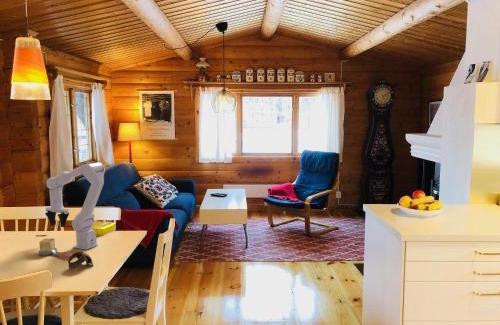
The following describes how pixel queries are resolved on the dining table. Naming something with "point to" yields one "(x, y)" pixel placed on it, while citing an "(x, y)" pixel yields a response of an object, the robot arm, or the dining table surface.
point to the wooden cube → (47, 245)
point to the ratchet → (56, 254)
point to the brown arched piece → (79, 259)
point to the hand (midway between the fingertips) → (58, 225)
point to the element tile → (103, 227)
